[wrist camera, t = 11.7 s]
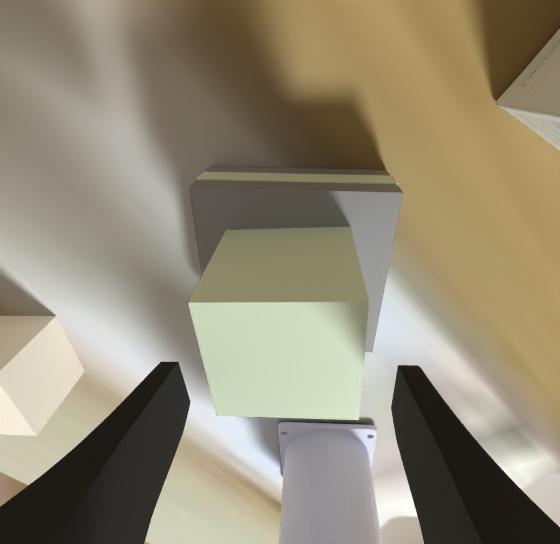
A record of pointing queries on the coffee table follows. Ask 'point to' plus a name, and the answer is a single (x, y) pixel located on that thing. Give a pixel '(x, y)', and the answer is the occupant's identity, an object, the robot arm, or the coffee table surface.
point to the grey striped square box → (303, 212)
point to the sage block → (283, 323)
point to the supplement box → (538, 94)
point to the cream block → (33, 372)
